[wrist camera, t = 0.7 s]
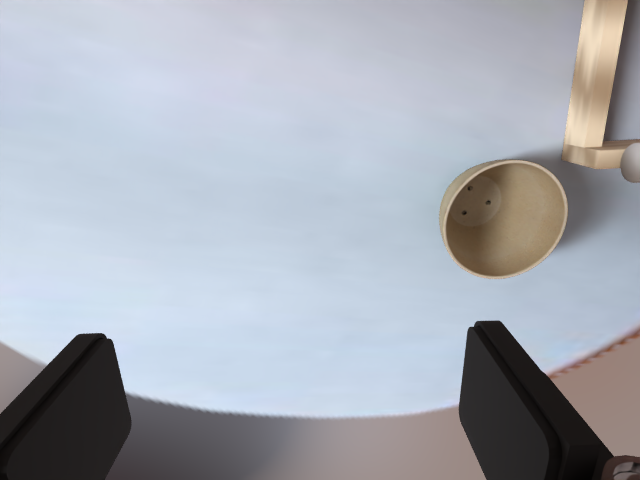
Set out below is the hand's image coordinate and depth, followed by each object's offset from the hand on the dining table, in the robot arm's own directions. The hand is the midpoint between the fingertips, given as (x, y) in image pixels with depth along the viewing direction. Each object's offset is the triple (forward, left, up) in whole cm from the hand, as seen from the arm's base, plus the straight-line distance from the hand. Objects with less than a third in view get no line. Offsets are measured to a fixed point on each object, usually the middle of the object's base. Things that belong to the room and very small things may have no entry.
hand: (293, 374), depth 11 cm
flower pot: (+4, +16, -29) cm, 33 cm away
